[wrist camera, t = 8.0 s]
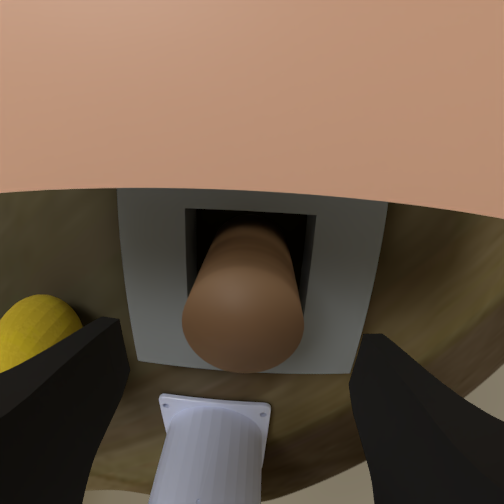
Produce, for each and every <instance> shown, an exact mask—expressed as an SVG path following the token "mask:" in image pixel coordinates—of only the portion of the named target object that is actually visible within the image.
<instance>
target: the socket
mask: <svg viewBox="0 0 504 504" xmlns="http://www.w3.org/2000/svg"><path fill="white" fill-rule="evenodd" d="M117 204H118V219H119V232H120V243H121V253H122V263H123V271H124V279H125V287H126V294H127V301H128V308H129V314H130V320H131V326H132V332H133V337H134V342H135V348H136V353H137V358H138V361H144V362H151V363H159V364H166V365H174V366H183V367H192V368H202V369H213V370H222V369H219V368H217V367H214V366H212V365H210V364H209V363H207V362H206V361H204V360H203V359H201V358H200V357H199V356H198V355H197V354H196V353H195V352H194V351H193V350H192V348H191V347H190V346H189V344H188V342H187V340H186V338H185V336H184V333H183V328H182V313H183V309H184V306H185V304H186V301H187V299H188V297H189V294H190V292H191V289H192V287H193V285H194V282H195V280H196V278H197V247H196V209H218V210H240V211H259V212H276V213H292V214H307V223H306V233H305V242H304V252H303V260H302V269H301V278H300V286H299V298H300V303H301V308H302V313H303V318H304V332H303V336H302V339H301V342H300V344H299V346H298V347H297V349H296V350H295V352H294V353H293V354H292V355H291V356H290V357H289V358H288V359H287V360H285V361H284V362H283V363H281V364H279V365H278V366H276V367H274V368H271V369H268V370H265V371H262V372H257V373H283V374H344V373H350V372H351V368H352V365H353V362H354V358H355V355H356V351H357V348H358V344H359V341H360V337H361V333H362V330H363V326H364V322H365V318H366V314H367V310H368V306H369V302H370V297H371V293H372V289H373V284H374V279H375V275H376V270H377V265H378V260H379V255H380V250H381V244H382V239H383V233H384V227H385V221H386V214H387V208H388V202H385V201H376V200H366V199H356V198H346V197H335V196H323V195H311V194H297V193H283V192H266V191H248V190H225V189H195V188H117Z"/></svg>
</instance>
